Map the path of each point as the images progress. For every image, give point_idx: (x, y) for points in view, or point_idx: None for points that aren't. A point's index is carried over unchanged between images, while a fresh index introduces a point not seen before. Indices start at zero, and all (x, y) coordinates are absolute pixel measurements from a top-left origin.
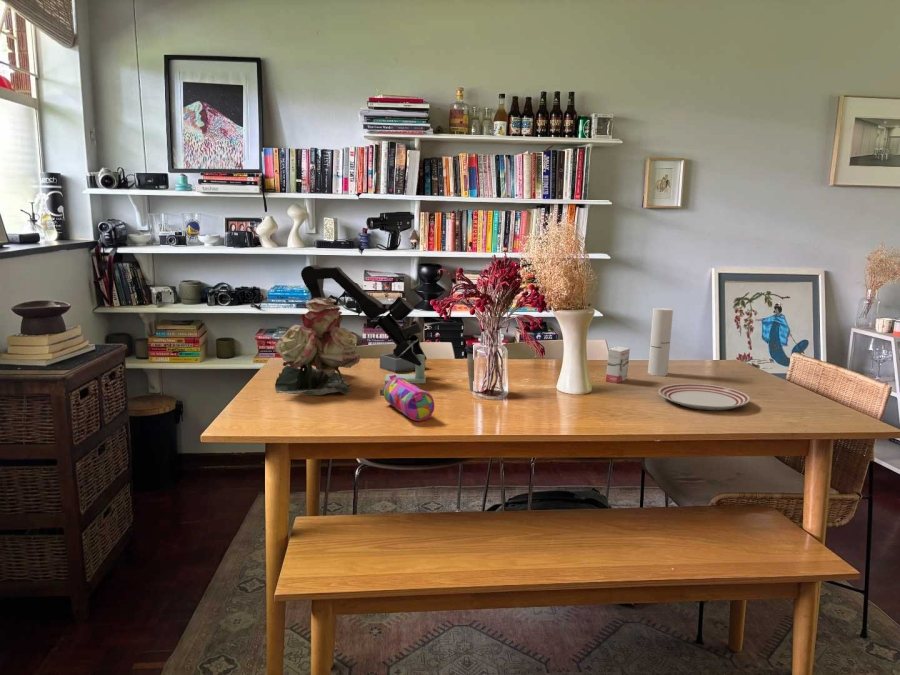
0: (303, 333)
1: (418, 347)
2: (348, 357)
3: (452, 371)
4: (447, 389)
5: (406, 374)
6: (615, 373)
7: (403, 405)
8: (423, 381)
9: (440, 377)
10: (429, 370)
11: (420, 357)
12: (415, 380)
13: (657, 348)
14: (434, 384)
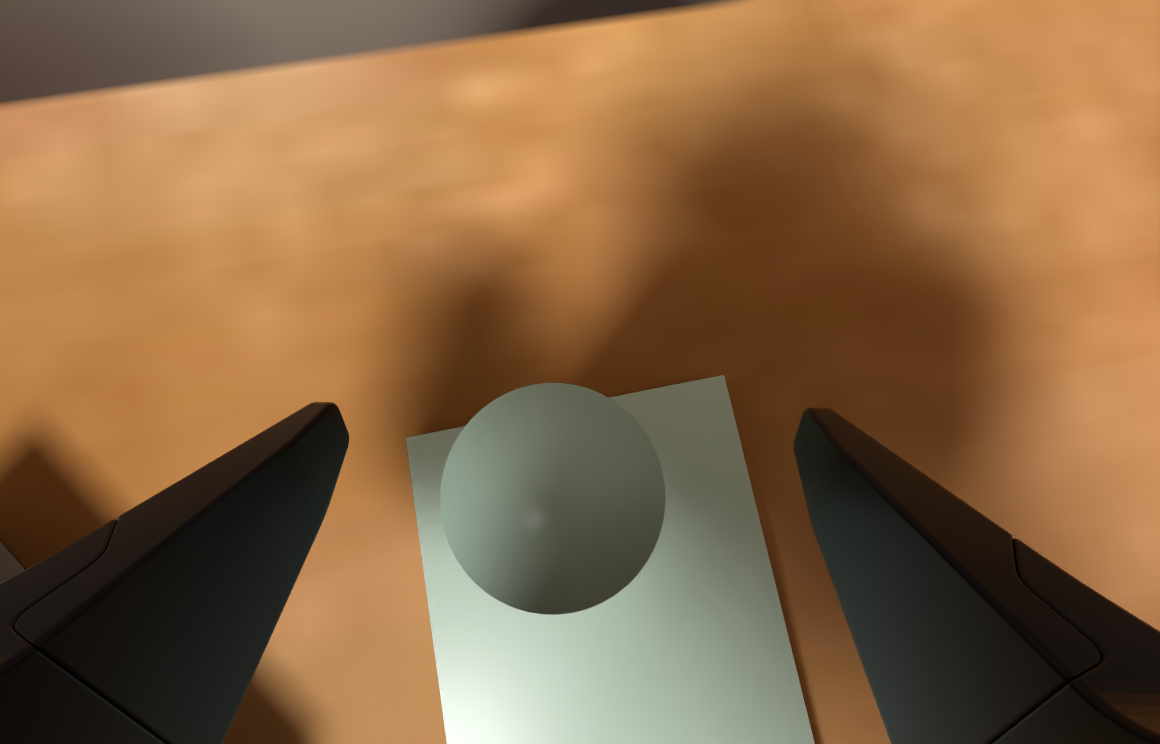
0: None
1: (65, 663)
2: None
3: (113, 212)
4: (862, 141)
5: (450, 668)
6: None
7: None
8: (727, 399)
9: (395, 283)
10: (90, 452)
11: (658, 463)
12: (725, 494)
13: None
14: (705, 290)
